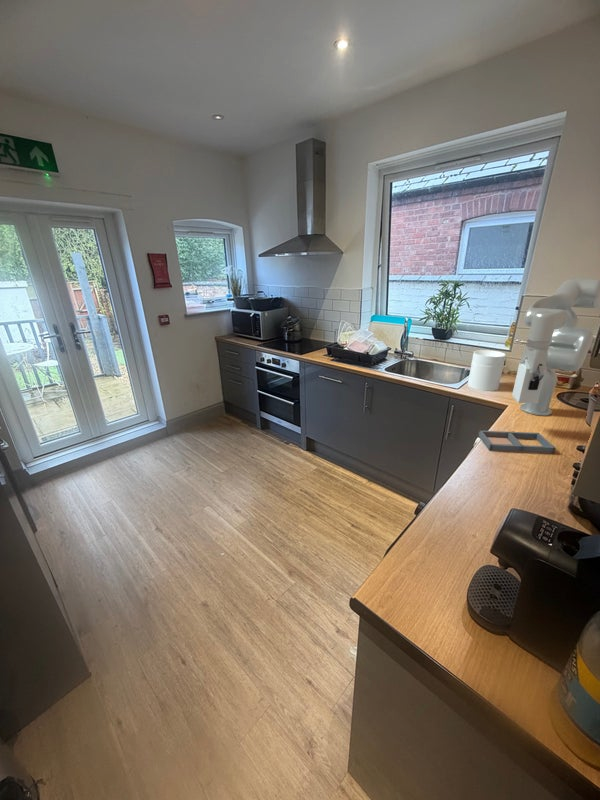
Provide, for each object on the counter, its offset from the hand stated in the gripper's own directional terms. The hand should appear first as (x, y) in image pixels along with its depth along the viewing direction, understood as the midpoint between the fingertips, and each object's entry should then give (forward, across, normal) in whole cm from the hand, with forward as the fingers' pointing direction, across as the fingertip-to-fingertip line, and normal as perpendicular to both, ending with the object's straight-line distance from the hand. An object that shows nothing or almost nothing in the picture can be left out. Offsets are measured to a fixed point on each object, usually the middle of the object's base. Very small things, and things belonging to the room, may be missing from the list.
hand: (527, 385), depth 135 cm
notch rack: (+19, +15, -8) cm, 26 cm away
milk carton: (+7, 0, 0) cm, 7 cm away
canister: (+22, -54, +5) cm, 58 cm away
